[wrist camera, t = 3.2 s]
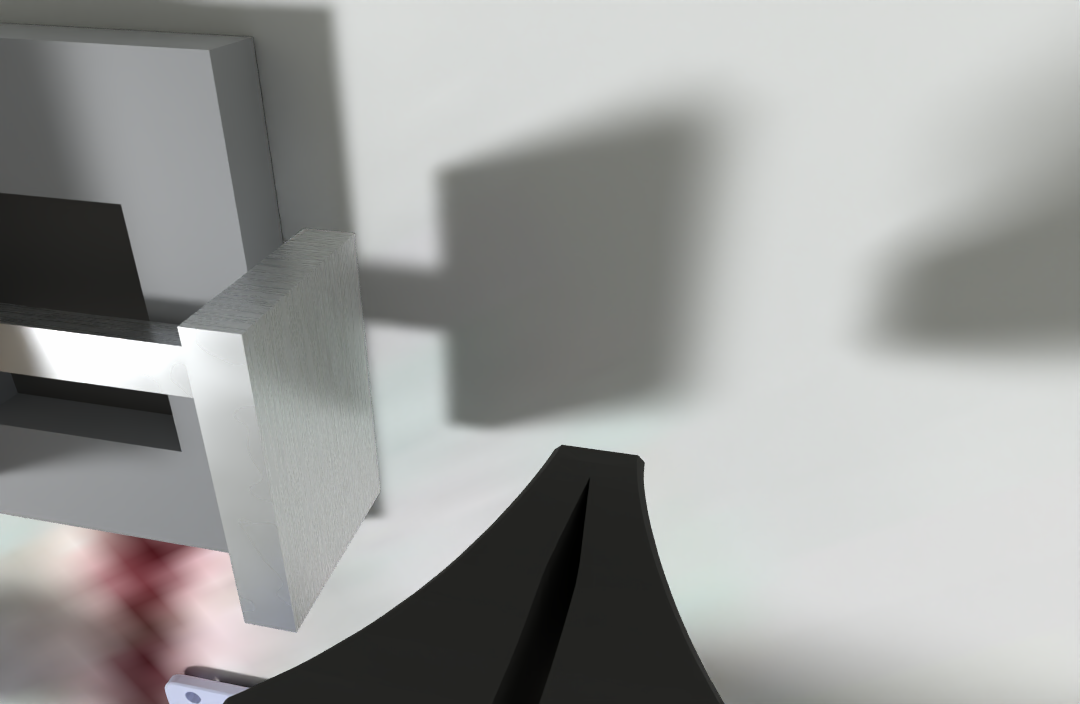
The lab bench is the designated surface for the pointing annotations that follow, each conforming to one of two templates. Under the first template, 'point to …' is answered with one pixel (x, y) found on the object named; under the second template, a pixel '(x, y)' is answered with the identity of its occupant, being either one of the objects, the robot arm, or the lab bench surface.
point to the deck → (123, 255)
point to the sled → (250, 406)
